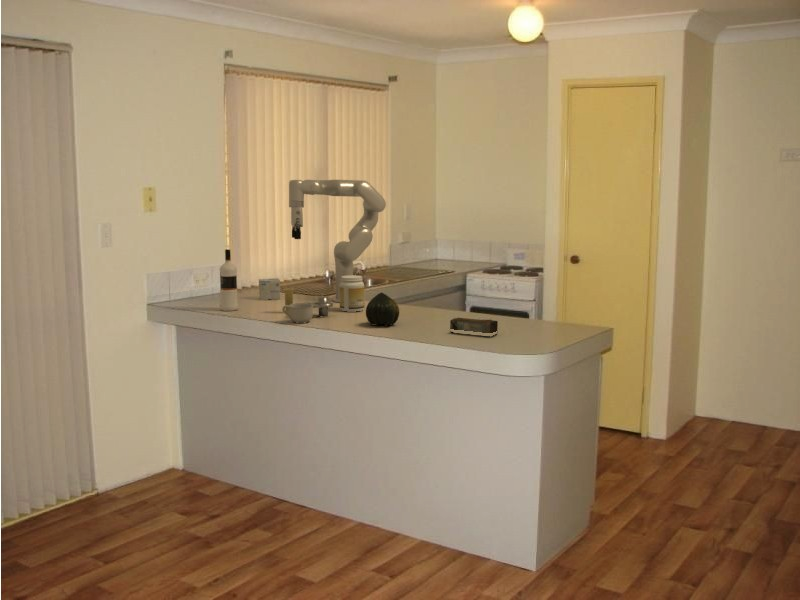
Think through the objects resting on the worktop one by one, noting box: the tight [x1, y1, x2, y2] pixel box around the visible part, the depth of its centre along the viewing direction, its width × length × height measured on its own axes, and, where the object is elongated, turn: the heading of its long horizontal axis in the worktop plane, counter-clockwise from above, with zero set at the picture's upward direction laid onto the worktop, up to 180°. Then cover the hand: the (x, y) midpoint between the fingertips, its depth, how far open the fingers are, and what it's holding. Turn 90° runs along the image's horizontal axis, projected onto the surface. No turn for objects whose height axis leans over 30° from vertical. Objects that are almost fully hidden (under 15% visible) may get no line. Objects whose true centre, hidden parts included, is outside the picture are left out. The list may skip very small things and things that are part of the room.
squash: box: [365, 292, 400, 326], centre depth 358 cm, size 14×15×15 cm
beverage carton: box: [449, 317, 498, 333], centre depth 339 cm, size 8×19×7 cm, turn 61°
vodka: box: [219, 248, 240, 312], centre depth 393 cm, size 9×9×30 cm
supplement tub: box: [339, 274, 365, 313], centre depth 394 cm, size 12×12×17 cm
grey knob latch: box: [303, 296, 334, 317], centre depth 377 cm, size 17×10×9 cm, turn 107°
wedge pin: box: [282, 287, 296, 314], centre depth 387 cm, size 5×3×12 cm, turn 107°
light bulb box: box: [258, 277, 281, 301], centre depth 428 cm, size 11×7×11 cm, turn 108°
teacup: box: [281, 302, 314, 324], centre depth 364 cm, size 14×11×8 cm
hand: (296, 238), depth 406 cm, fingers open, 9 cm apart
